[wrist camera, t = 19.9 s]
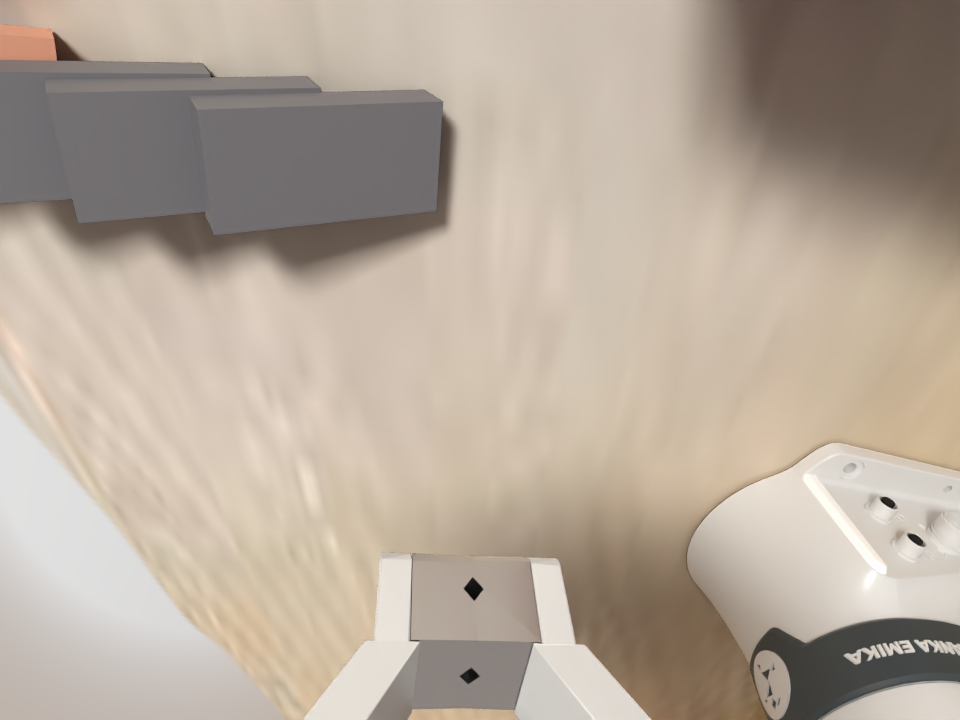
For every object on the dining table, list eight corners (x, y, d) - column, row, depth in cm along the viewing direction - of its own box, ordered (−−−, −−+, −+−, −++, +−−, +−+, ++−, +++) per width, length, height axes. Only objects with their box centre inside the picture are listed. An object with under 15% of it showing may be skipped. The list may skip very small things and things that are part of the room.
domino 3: (443, 101, 29) (196, 109, 25) (436, 211, 32) (213, 235, 28) (424, 89, 31) (188, 95, 27) (419, 195, 34) (205, 216, 29)
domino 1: (210, 73, 28) (-91, 71, 24) (222, 190, 31) (-46, 206, 27) (202, 63, 30) (-83, 58, 25) (214, 175, 33) (-42, 188, 28)
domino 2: (320, 87, 29) (45, 92, 24) (324, 201, 32) (78, 223, 27) (307, 76, 30) (45, 79, 26) (312, 185, 33) (76, 204, 29)
